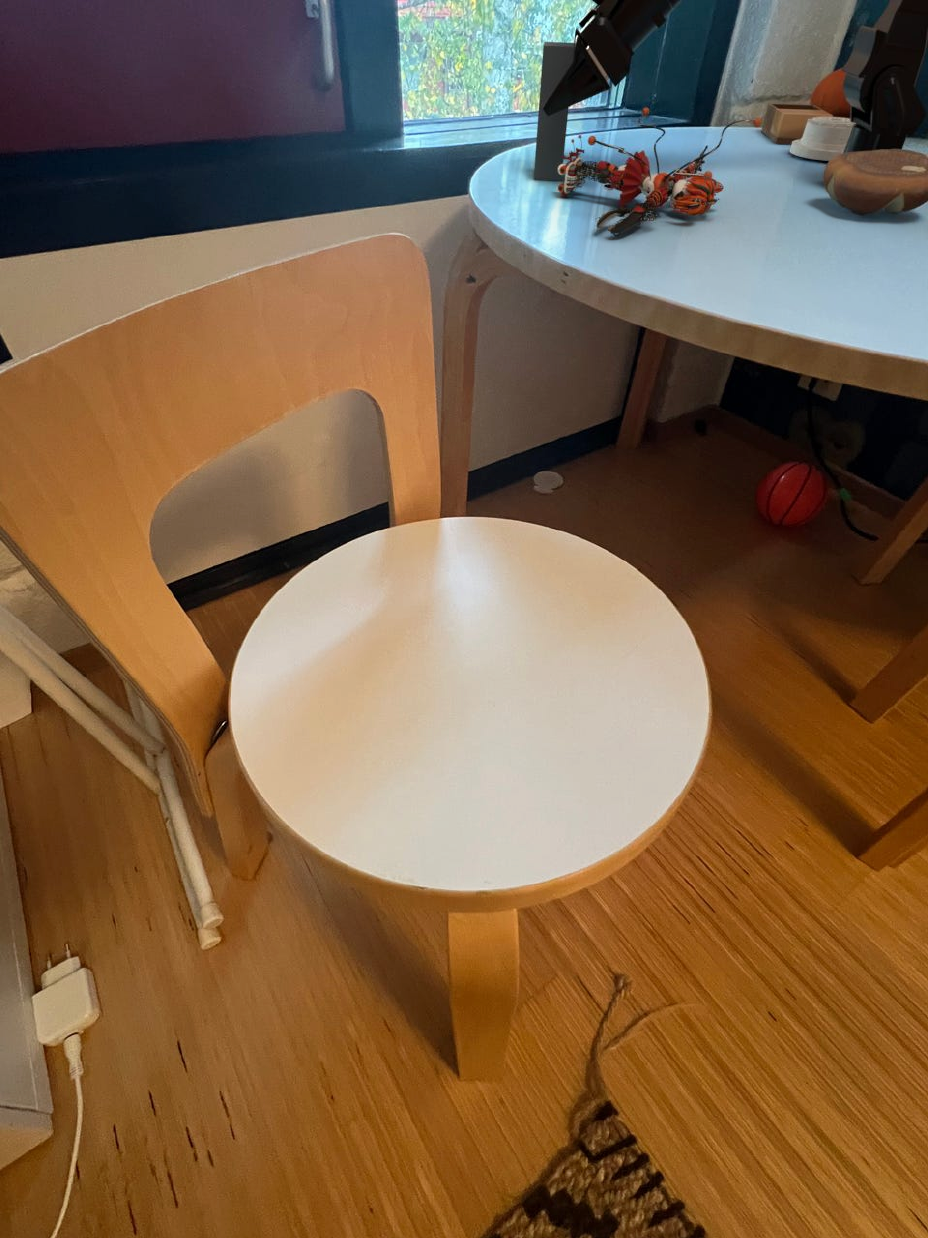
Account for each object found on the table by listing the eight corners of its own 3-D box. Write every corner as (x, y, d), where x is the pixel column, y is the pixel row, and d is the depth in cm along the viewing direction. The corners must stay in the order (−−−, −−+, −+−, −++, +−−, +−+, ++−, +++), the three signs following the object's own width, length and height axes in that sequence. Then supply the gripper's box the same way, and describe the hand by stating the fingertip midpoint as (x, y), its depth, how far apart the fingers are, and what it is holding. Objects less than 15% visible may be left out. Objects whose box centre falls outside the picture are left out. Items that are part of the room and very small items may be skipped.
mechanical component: (822, 165, 95) (877, 161, 98) (834, 127, 92) (891, 123, 95) (774, 151, 102) (826, 148, 105) (784, 115, 99) (838, 112, 102)
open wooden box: (823, 145, 106) (833, 115, 103) (775, 143, 107) (784, 113, 104) (805, 133, 114) (814, 104, 111) (761, 131, 114) (768, 103, 111)
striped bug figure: (496, 231, 74) (665, 280, 68) (501, 137, 68) (689, 181, 61) (598, 161, 88) (748, 197, 81) (611, 76, 81) (776, 108, 74)
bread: (908, 141, 78) (889, 191, 82) (813, 151, 77) (799, 200, 81) (972, 170, 71) (949, 223, 75) (869, 181, 70) (850, 234, 74)
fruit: (807, 117, 125) (823, 61, 120) (859, 122, 122) (878, 64, 117) (800, 124, 119) (817, 66, 114) (855, 129, 117) (875, 69, 111)
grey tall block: (561, 171, 90) (574, 42, 81) (561, 180, 86) (574, 46, 77) (534, 170, 90) (544, 41, 81) (533, 179, 87) (543, 45, 78)
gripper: (609, -87, 78) (506, 36, 86) (619, -97, 65) (495, 50, 73) (664, 8, 83) (562, 116, 91) (683, 17, 70) (561, 143, 78)
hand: (545, 106), depth 83 cm, fingers open, 9 cm apart
